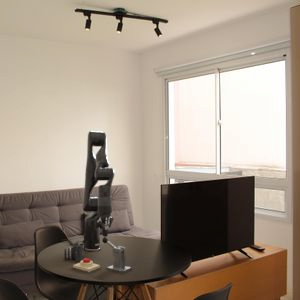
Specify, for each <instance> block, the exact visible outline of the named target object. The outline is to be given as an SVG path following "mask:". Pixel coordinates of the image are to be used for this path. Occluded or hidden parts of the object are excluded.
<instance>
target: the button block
mask: <svg viewBox="0 0 300 300" xmlns="http://www.w3.org/2000/svg"><path fill="white" fill-rule="evenodd" d="M72 267H73V269H77V270H81V271H84V272H88V273H90V272H92V271H95V270H97V269H100V268H101V265H100V264H97V263H94V261H93V260H91V259H90V262H89V263H84V262H83V259H82V261H79V262H78V263H75V264H73V266H72Z"/></svg>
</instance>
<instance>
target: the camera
mask: <svg viewBox="0 0 300 300" xmlns="http://www.w3.org/2000/svg"><path fill="white" fill-rule="evenodd" d="M82 241H83V240H77V241H76V242H74V243H73V245H72V246H71V247H65V248H64V253H63V255H64V259H65V260H69V261H70V260H75V261H76V262H81V261H82V260H83V250H84V244H83V242H82Z"/></svg>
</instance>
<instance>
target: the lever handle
mask: <svg viewBox="0 0 300 300" xmlns="http://www.w3.org/2000/svg"><path fill="white" fill-rule="evenodd" d="M101 241H102V243H103V244H107V245H108V246H110V247H111V248H112V249H113V248H117V246H116V245H114V244H113V243H112V242H110V241H109V239H108V237H107V236H106V237H104V236H103V238H102V240H101ZM118 248H119V249H121V248H120V247H118ZM122 251H123V250H122V249H121V254H122Z"/></svg>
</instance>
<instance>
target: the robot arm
mask: <svg viewBox="0 0 300 300" xmlns="http://www.w3.org/2000/svg"><path fill="white" fill-rule="evenodd" d="M86 140H87V142H86V143H87V144H86V164H85V172H84V173H85V175H84V189H83V195H82V199H81V200H82V202H81V207H82V208H81V209H82V211H83V212H84V213H90V212H92V213H91V214H90V215H88V216H86V217H85V218H84V234H83V240H81V241H82V242H83V250H85V251H87V252H96V251H100V250H101V236H100V235H101V231H100V230H102V237H103V238H104V237H106V238H107V237H108V235H109V228H111V227H112V224H113V221H114V217H112V215H111V214H112V213H113V199H112V186H113V181H114V177H115V169H114V168H112V167H110V162H109V158H108V139H107V134H106V133H105V131H101V130H100V131H98V130H97V131H96V130H89V131H88V133H87V139H86ZM94 147H99V149H98V151H97V152H96V153H95V152H94ZM99 181H102V182H103V181H104V182H105V181H106V183H104V184H100V185H98V187H97V193H98V194H97V196H91V194H92V191H93V189H94V188H95V187H96V185H97V184H98V182H99ZM64 241H65V242H68V243H69V244H70V245H72V246H73V244H74V243H73V241H72V240H70V239H67V238H66V239H65V238H64V239H62V240H61V242H62V243H63V242H64Z"/></svg>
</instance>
